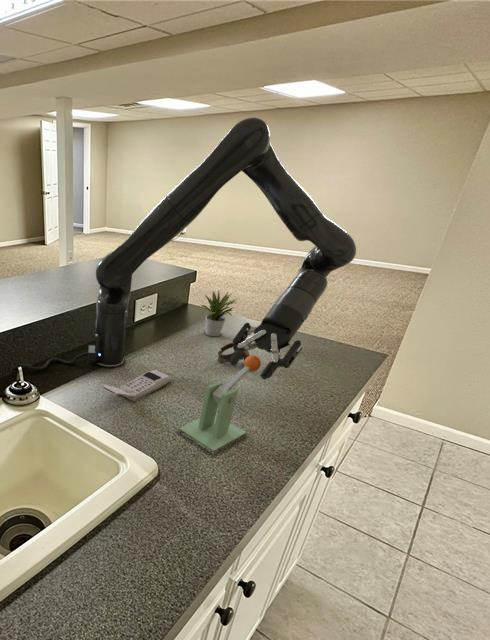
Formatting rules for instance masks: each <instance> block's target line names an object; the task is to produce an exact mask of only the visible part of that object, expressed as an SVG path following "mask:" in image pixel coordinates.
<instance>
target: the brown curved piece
mask: <svg viewBox="0 0 490 640" xmlns="http://www.w3.org/2000/svg"><path fill="white" fill-rule="evenodd" d="M229 349H233V350H234V351H235V350H236V347H235V346H234V344H233V342H229V343H227V344H224V345H223V346H221V347H220V350H219V351H217V355H218V356H217V361H218V362H219V363H222V364H223V363H225V364H226V363H230V357H231V355H232V354H233V353H234V351H233V352H231V353H227V354H223V353H224V352H225V351H226V350H229ZM248 356H251V355H250V352H249V350H248V351H246V352H244V353H243V356H242V357H241V359H240V360H239V361H242V360H243V361H244V360H245V359H246V358H247V357H248Z"/></svg>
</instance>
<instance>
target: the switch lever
mask: <svg viewBox="0 0 490 640" xmlns="http://www.w3.org/2000/svg"><path fill="white" fill-rule="evenodd" d="M261 365H262V360H261V359H260V357H258V356H256V355H250V356H248V357H247V358H246V359H245V360H244V359H243V367H242V369H240V371H238V372H237V373H236V374H235V376H233V378H232V379H230V381H229V382H228V383H226V384H225V386H223V385H222V386H219V387H218V388H217V389H216V390H215V391H214V392H213V393H212V396H213V400H214V401H216V402H218V404H220V400H221V396H222V394H223V393H225V392H227V391H229V390H232V389H234V388H235V386H236V385H237V384H238V383H239V382H241V380H242V379H244V377H245V376H246V375H247V374H248V373H249V372H256V371H258V370H259V369H260V368H261V367H262V366H261Z"/></svg>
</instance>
